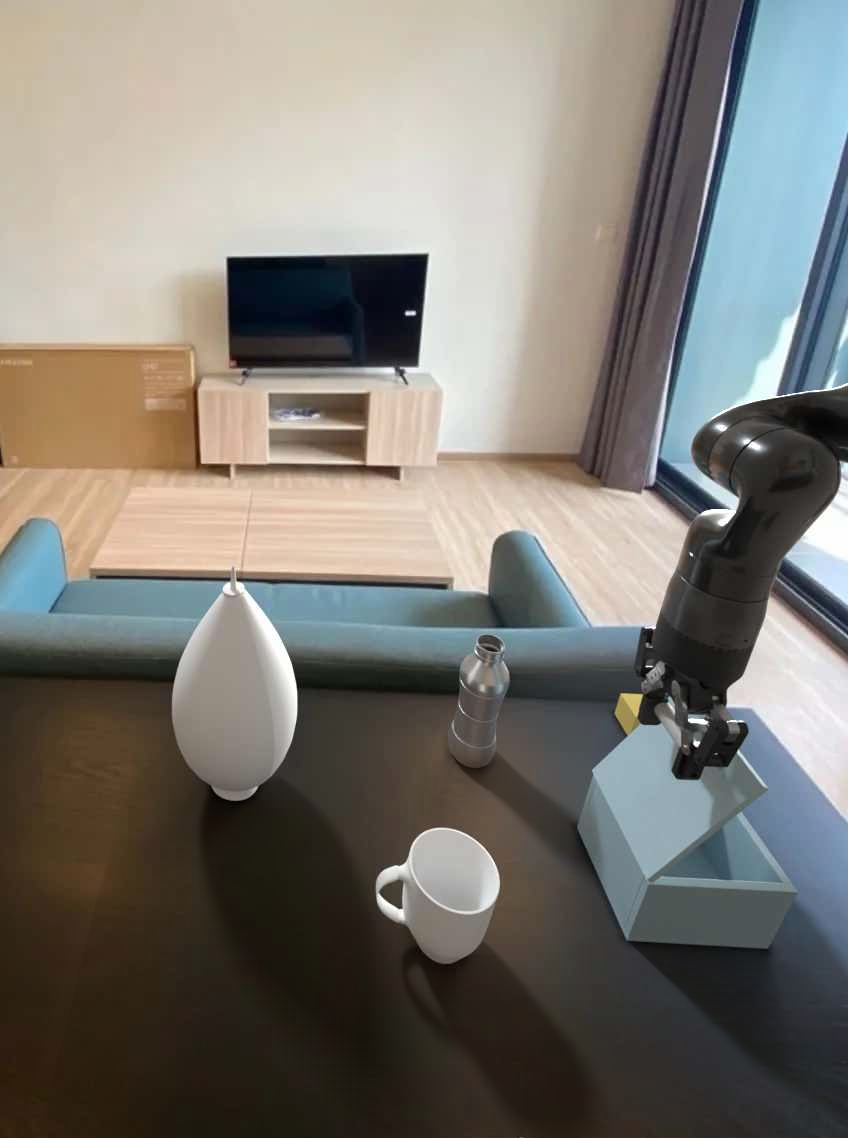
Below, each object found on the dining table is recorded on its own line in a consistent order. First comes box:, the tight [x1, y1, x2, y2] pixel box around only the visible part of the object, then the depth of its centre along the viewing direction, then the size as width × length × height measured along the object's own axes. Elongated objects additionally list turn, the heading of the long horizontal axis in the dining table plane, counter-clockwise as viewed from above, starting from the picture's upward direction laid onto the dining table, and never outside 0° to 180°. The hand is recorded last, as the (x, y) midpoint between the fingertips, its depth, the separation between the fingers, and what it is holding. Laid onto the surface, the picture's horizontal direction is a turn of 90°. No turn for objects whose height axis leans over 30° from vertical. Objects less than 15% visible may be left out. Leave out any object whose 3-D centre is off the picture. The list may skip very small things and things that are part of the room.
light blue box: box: [577, 774, 799, 950], centre depth 73 cm, size 15×13×10 cm
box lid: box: [591, 695, 769, 882], centre depth 68 cm, size 16×13×5 cm
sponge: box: [614, 693, 643, 736], centre depth 95 cm, size 6×4×4 cm
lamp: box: [171, 564, 298, 802], centre depth 81 cm, size 16×16×35 cm
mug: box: [375, 827, 501, 965], centre depth 68 cm, size 12×9×12 cm
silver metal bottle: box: [447, 633, 511, 769], centre depth 88 cm, size 6×7×20 cm
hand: (665, 747), depth 67 cm, fingers closed on box lid, 6 cm apart
